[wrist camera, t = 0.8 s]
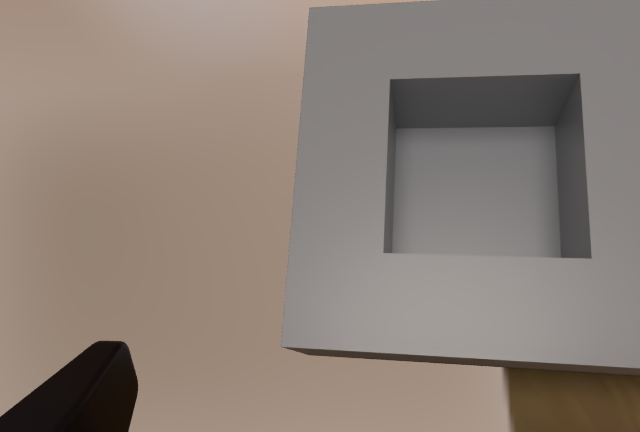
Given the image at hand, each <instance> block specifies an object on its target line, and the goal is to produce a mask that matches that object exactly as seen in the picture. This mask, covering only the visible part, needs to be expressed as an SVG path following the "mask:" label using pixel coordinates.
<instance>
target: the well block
mask: <svg viewBox="0 0 640 432" xmlns="http://www.w3.org/2000/svg"><path fill="white" fill-rule="evenodd" d="M281 337H282V338H281V347H284V348H287V349H290V350H294V351H297V352H301V353H304V354H308V355H317V356H334V357H350V358H365V359H381V360H397V361H413V362H430V363H445V364H461V365H477V366H494V367H509V368H525V369H542V370H558V371H574V372H590V373H606V374H622V375H638V376H640V0H437V1H419V2H403V3H402V2H401V3H383V4H365V5H348V6H330V7H312V8H309V19H308V32H307V42H306V54H305V67H304V78H303V89H302V101H301V113H300V126H299V137H298V148H297V160H296V172H295V183H294V196H293V207H292V219H291V230H290V242H289V255H288V266H287V277H286V290H285V301H284V313H283V325H282V336H281Z"/></svg>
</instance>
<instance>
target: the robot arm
mask: <svg viewBox="0 0 640 432" xmlns="http://www.w3.org/2000/svg"><path fill="white" fill-rule="evenodd" d="M137 393H138V380H137V376H136V372H135V369H134V365H133V362H132V358H131V354H130V351H129V348H128V346H127V344H126V343H124V342H122V341H98V342H96V343H94V344H92V345H91V346H90V347H88V348H87V349H86V350H85V351H83V352H82V353H81V354H80V355H78V356H77V357H76V358H74V359H73V360H72V361H71V362H69V363H68V364H67V365H66V366H64V367H63V368H62V369H60V370H59V371H58V372H57V373H56V374H54V375H53V376H52V377H50V378H49V379H48V380H47V381H45V382H44V383H43V384H42V385H40V386H39V387H38V388H36V389H35V390H34V391H33V392H31V393H30V394H29V395H27V396H26V397H25V398H24V399H22V400H21V401H20V402H19V403H17V404H16V405H15V406H13V407H12V408H11V409H10V410H8V411H7V412H6V413H5V414H3V415H2V416H1V417H0V432H128V430H129V427H130V422H131V419H132V415H133V410H134V406H135V402H136V398H137Z"/></svg>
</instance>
